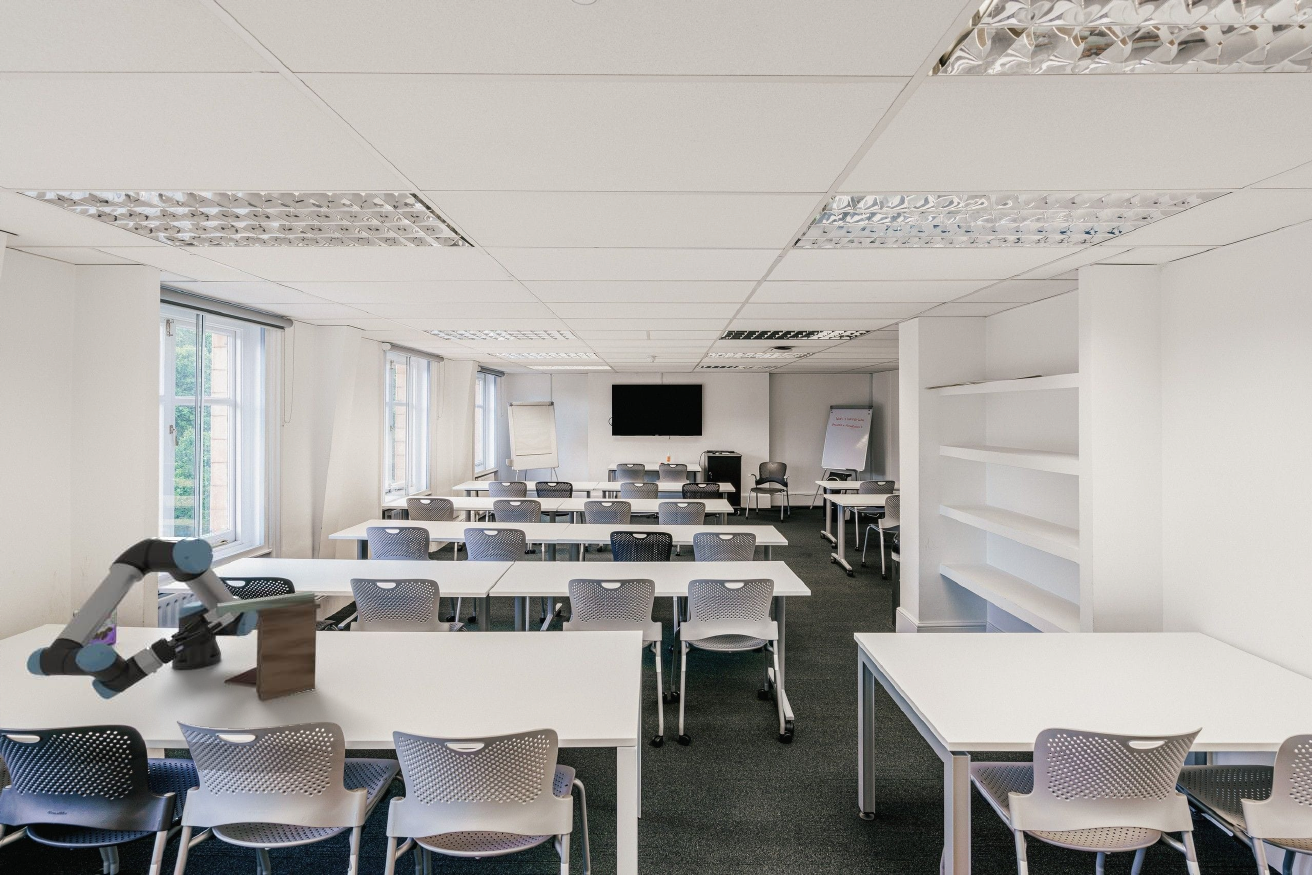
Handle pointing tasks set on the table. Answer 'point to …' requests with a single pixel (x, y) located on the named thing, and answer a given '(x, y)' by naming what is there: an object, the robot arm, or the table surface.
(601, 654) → the table surface
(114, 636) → the candy box
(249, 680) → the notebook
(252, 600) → the slat
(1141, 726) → the table surface
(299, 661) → the stand
